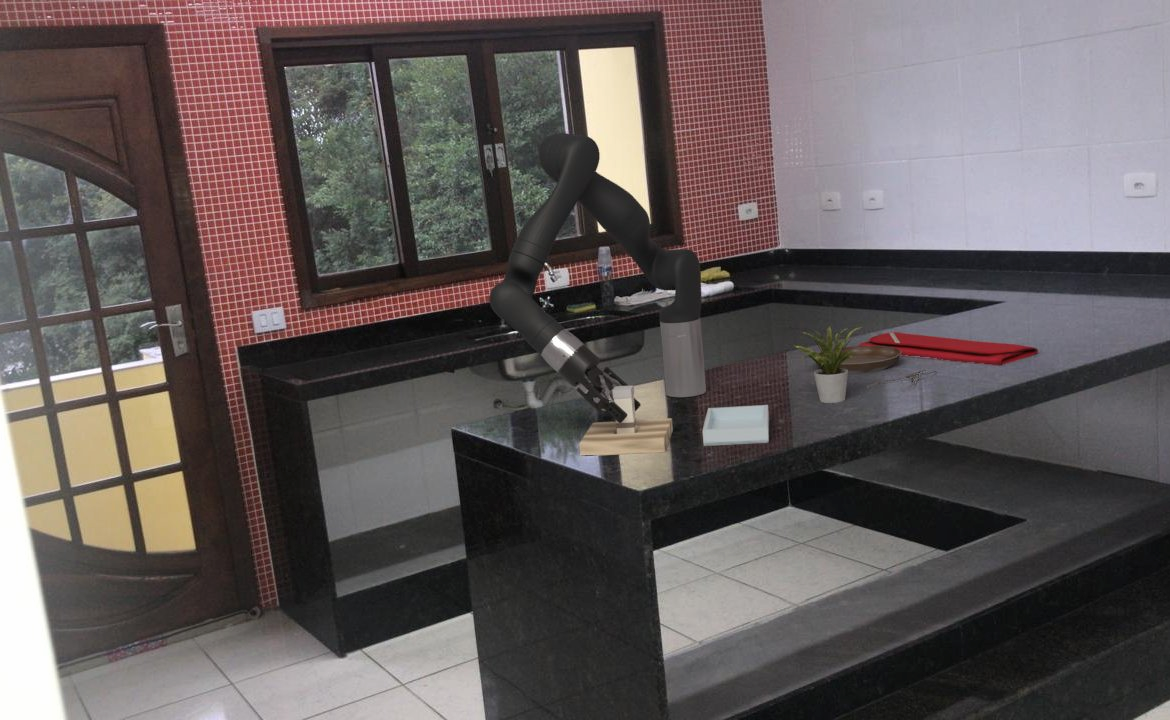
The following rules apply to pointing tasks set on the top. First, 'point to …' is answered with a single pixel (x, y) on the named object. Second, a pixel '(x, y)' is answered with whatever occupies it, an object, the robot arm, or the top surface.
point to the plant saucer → (869, 358)
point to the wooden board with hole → (627, 438)
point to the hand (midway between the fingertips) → (631, 414)
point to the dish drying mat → (952, 348)
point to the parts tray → (736, 425)
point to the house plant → (830, 366)
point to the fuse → (625, 408)
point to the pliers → (902, 378)
